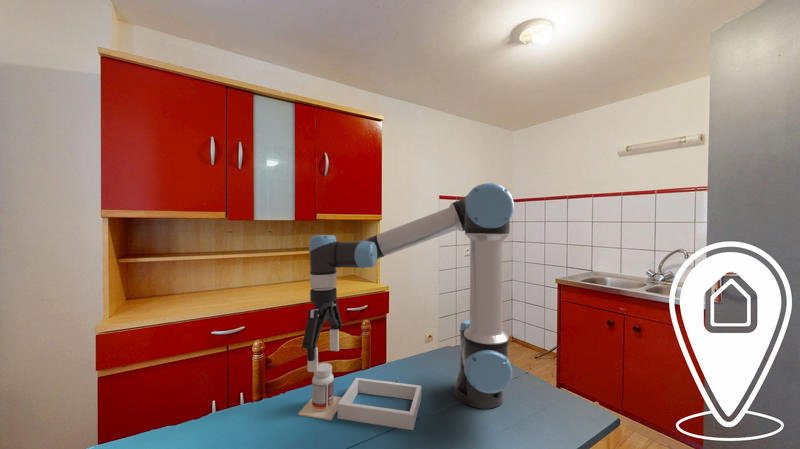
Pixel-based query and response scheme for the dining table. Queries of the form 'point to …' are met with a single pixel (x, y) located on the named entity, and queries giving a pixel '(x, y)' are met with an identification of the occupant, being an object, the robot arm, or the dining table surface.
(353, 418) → the bin
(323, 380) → the pill bottle
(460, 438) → the dining table surface
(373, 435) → the dining table surface
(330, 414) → the mat
